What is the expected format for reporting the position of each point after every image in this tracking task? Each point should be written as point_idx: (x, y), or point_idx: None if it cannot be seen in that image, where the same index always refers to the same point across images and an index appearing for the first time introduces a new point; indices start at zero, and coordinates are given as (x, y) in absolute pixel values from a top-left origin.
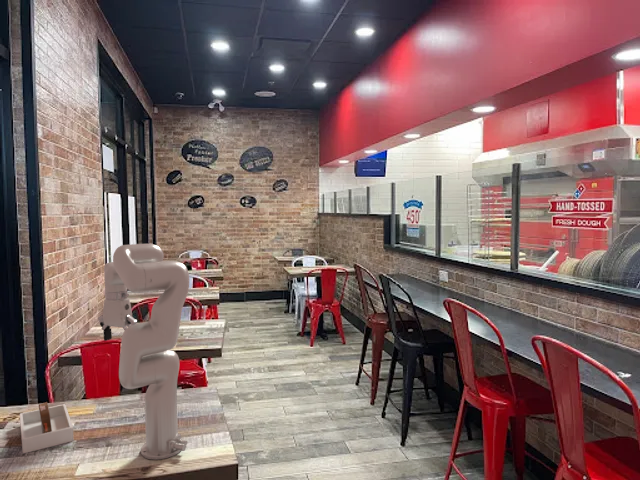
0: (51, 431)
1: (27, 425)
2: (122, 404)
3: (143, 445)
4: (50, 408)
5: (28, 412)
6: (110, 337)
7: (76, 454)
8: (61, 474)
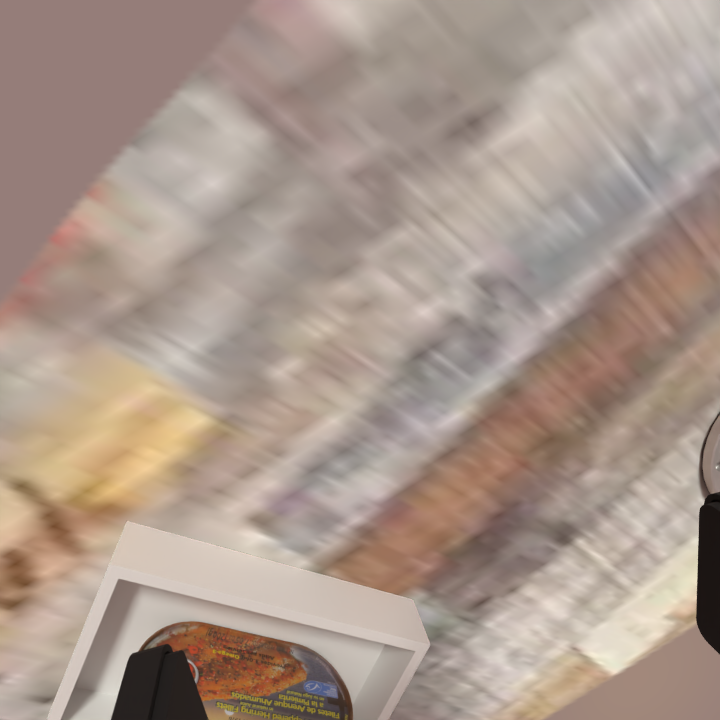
0: (384, 709)
1: (108, 679)
2: (255, 262)
3: (718, 488)
4: (97, 628)
5: (60, 715)
6: (183, 701)
7: (514, 631)
8: (575, 698)
